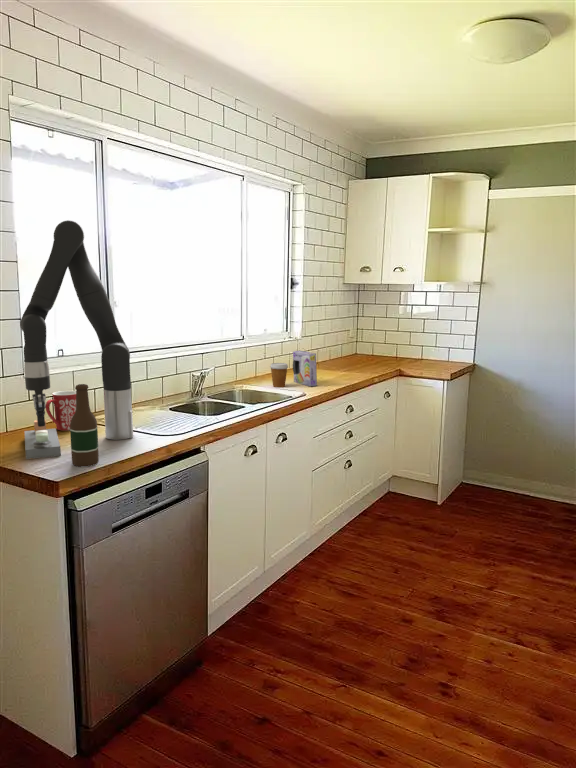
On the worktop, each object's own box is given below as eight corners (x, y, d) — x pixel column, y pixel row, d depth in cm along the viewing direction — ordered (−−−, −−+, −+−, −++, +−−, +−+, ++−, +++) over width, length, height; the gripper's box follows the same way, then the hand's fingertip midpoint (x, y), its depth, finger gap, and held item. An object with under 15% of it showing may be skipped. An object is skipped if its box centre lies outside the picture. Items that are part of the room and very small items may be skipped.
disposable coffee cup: (281, 388, 305) (281, 365, 303) (266, 386, 310) (266, 364, 308) (291, 386, 313) (291, 363, 311) (276, 384, 318) (276, 362, 316)
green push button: (48, 438, 186) (48, 432, 186) (48, 441, 183) (48, 435, 183) (36, 440, 185) (35, 433, 185) (36, 442, 182) (35, 436, 181)
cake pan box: (291, 381, 327) (292, 350, 324) (299, 381, 329) (300, 349, 326) (309, 387, 310) (309, 353, 307) (317, 386, 313) (317, 353, 310)
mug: (70, 424, 226) (68, 389, 223) (85, 427, 221) (83, 392, 218) (40, 430, 215) (37, 394, 213) (55, 434, 210) (52, 397, 208)
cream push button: (47, 435, 190) (47, 429, 190) (48, 438, 187) (47, 432, 187) (35, 436, 189) (35, 430, 189) (36, 439, 186) (35, 433, 185)
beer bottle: (82, 458, 182) (78, 382, 178) (104, 460, 180) (100, 383, 176) (66, 465, 175) (61, 386, 171) (88, 468, 173) (84, 387, 169)
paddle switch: (46, 429, 204) (45, 419, 203) (46, 430, 201) (45, 421, 201) (34, 430, 202) (34, 420, 202) (34, 431, 200) (34, 422, 199)
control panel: (56, 436, 208) (55, 428, 207) (61, 456, 185) (60, 446, 184) (25, 439, 203) (24, 430, 203) (26, 459, 180) (25, 450, 180)
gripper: (50, 376, 190) (54, 429, 193) (48, 371, 202) (52, 420, 205) (25, 378, 187) (30, 431, 190) (24, 373, 199) (28, 423, 202)
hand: (41, 425), depth 197 cm, fingers closed
